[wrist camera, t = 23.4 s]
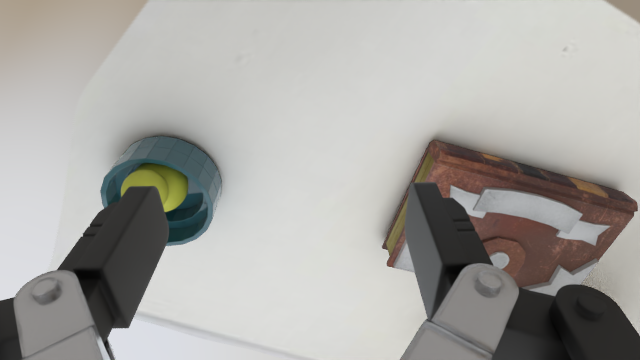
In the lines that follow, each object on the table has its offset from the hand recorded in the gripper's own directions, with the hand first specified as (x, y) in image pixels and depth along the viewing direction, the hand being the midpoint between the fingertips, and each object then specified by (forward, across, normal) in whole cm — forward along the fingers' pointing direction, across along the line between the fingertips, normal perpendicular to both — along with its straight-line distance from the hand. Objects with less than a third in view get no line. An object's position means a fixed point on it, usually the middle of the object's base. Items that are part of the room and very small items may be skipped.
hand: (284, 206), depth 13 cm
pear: (+25, +15, +16) cm, 33 cm away
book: (+26, -21, +22) cm, 40 cm away
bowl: (+26, +15, +16) cm, 34 cm away
